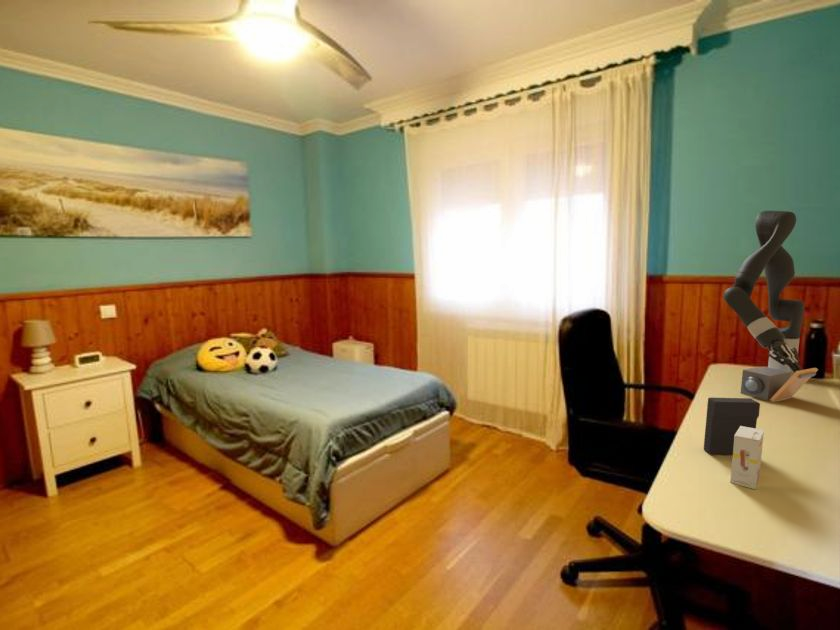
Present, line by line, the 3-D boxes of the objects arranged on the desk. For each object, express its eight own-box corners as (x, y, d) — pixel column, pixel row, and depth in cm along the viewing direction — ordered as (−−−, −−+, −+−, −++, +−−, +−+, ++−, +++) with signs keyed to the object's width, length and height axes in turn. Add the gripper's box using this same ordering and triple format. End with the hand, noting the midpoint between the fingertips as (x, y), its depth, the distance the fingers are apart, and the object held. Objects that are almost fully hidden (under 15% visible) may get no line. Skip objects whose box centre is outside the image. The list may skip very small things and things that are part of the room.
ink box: (735, 469, 108) (739, 424, 106) (760, 476, 104) (765, 429, 103) (728, 482, 102) (733, 434, 100) (755, 490, 98) (760, 441, 97)
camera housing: (760, 391, 166) (763, 366, 165) (787, 398, 158) (790, 372, 157) (736, 396, 161) (739, 370, 160) (763, 404, 153) (766, 376, 151)
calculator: (744, 450, 118) (749, 397, 116) (754, 457, 114) (760, 402, 112) (701, 448, 119) (706, 396, 117) (710, 455, 115) (715, 401, 113)
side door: (787, 396, 158) (815, 367, 149) (792, 400, 156) (820, 371, 148) (768, 400, 154) (796, 371, 145) (773, 404, 152) (801, 374, 144)
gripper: (762, 327, 153) (799, 370, 143) (785, 325, 158) (822, 366, 148) (745, 339, 158) (779, 381, 149) (768, 337, 163) (802, 377, 154)
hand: (800, 373), depth 149 cm, fingers closed
